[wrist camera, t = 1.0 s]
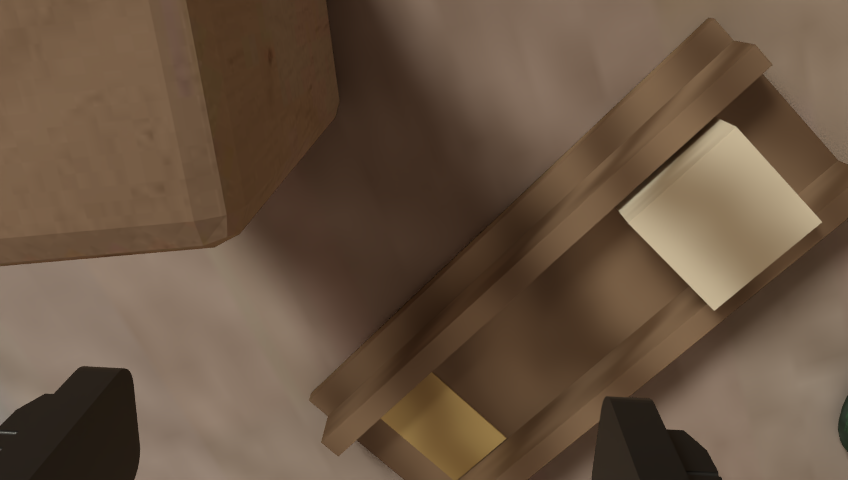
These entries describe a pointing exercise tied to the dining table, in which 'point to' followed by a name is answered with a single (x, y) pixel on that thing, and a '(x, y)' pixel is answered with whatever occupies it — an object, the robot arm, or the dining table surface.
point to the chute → (568, 287)
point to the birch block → (718, 212)
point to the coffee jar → (844, 425)
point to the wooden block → (152, 120)
